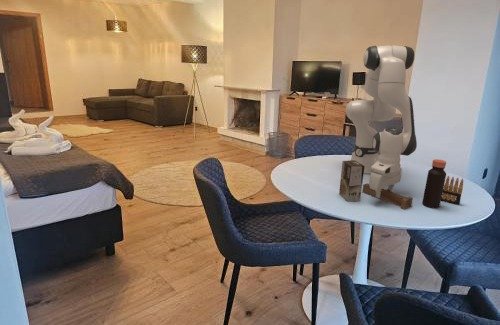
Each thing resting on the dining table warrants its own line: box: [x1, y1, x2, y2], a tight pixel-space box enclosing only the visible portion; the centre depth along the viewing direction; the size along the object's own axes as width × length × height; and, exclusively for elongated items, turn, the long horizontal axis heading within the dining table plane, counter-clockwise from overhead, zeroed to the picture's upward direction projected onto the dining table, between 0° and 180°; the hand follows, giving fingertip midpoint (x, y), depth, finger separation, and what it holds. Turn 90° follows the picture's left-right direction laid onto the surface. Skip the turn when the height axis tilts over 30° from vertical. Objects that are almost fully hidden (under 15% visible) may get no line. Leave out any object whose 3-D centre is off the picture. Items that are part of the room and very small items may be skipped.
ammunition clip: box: [441, 175, 464, 206], centre depth 149 cm, size 11×2×12 cm, turn 52°
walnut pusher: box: [361, 182, 414, 210], centre depth 150 cm, size 6×22×4 cm, turn 37°
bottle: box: [421, 159, 447, 209], centre depth 143 cm, size 7×7×20 cm
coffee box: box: [338, 159, 365, 202], centre depth 150 cm, size 9×6×16 cm
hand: (383, 195), depth 151 cm, fingers open, 7 cm apart
